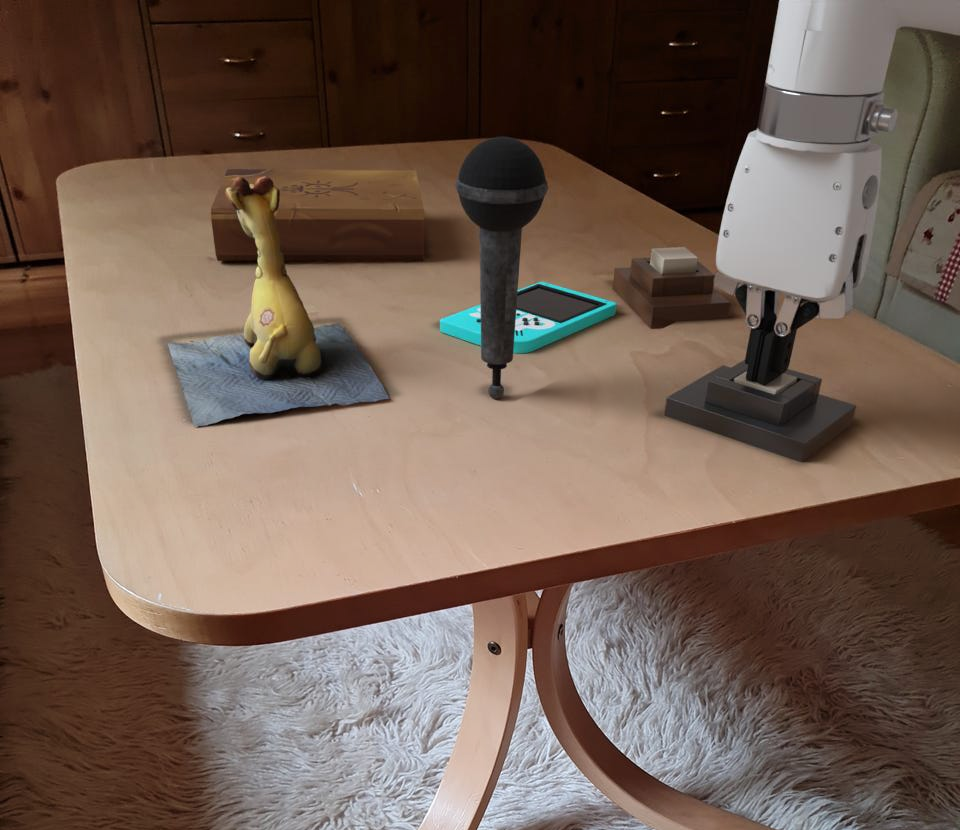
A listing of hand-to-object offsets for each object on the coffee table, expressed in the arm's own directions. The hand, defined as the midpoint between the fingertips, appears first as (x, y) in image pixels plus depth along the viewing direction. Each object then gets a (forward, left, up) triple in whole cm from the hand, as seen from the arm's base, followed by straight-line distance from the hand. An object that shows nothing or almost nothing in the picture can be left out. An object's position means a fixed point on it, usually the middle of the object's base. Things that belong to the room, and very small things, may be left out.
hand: (764, 377), depth 79 cm
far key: (+20, -20, -1) cm, 28 cm away
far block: (+20, -20, -4) cm, 29 cm away
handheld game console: (+28, -6, -4) cm, 29 cm away
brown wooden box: (+63, -11, -4) cm, 64 cm away
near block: (0, 0, -4) cm, 4 cm away
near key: (0, 0, -2) cm, 2 cm away
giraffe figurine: (+37, +19, -4) cm, 42 cm away
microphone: (+19, +10, -4) cm, 22 cm away
